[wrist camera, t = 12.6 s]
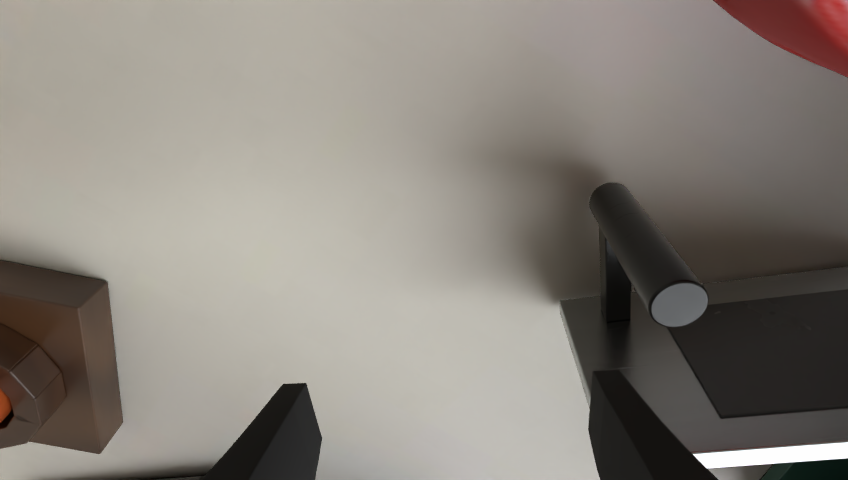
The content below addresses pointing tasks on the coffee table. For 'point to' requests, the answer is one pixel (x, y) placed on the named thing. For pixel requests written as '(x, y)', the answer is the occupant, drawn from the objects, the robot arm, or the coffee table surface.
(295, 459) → the robot arm
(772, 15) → the flower pot
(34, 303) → the button block
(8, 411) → the button
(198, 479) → the smartphone
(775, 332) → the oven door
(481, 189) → the coffee table surface
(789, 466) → the microwave oven
